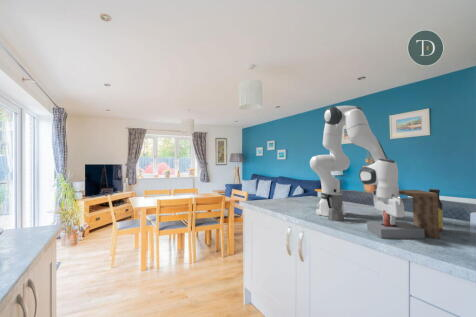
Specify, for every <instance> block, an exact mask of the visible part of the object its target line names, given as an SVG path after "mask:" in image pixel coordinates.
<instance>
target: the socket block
mask: <svg viewBox="0 0 476 317" xmlns="http://www.w3.org/2000/svg"><path fill="white" fill-rule="evenodd" d="M366 224H367V225H366V228H367V229H366V230H367V231H369V232H370V233H372V234H373V235H375V236H377V237H378V238H380V239H426V238H425V236H426V235H425V234H424V229H423V228H420V227H418V226H415V225H414V223H413V224H412V223H410V222H408V221H398V220H397V221H395V225H394V227H385V226H384V221H367V222H366Z"/></svg>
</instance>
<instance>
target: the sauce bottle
mask: <svg viewBox="0 0 476 317" xmlns="http://www.w3.org/2000/svg"><path fill="white" fill-rule="evenodd" d="M428 192H433V193H437V198H438V219H439V232H442V231H443V227H444V226H443V225H444V224H443V223H444V222H443V220H444V219H443V218H444V216H443V215H444V214H443V213H444V212H443V203H442V201H441V199H440V192H441V191H440V189H439V188H429V189H428Z"/></svg>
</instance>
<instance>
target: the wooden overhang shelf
mask: <svg viewBox="0 0 476 317" xmlns="http://www.w3.org/2000/svg"><path fill="white" fill-rule="evenodd" d="M399 195H401V196H402V195H403V196H406V197H410V198H412V214H413V215H412V216H413V225H415V226H418V227H420V228H423V229H424V235H425V236H428V237H430V238H432V239H440V231H439V219H438V198H437V193H433V192H429V191H426V190H420V189H399Z"/></svg>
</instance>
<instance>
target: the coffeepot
mask: <svg viewBox="0 0 476 317" xmlns="http://www.w3.org/2000/svg"><path fill="white" fill-rule="evenodd" d="M333 190H334V192H332V193H328V194H327V202H328V206H329V215H328V216H327V219H328V220H329V221H332V222H342V221H344V220H345V215H343V211H342V201H343V199H344V193H341V192H340V193H337V192H336V189H333ZM343 202H344V201H343Z"/></svg>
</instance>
